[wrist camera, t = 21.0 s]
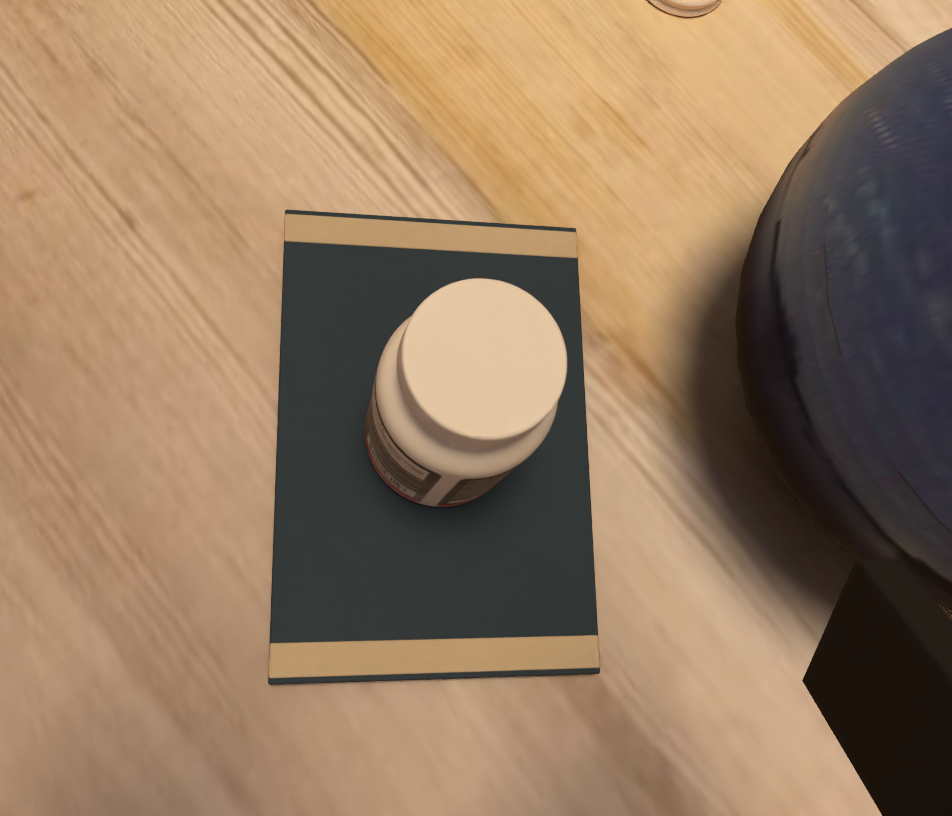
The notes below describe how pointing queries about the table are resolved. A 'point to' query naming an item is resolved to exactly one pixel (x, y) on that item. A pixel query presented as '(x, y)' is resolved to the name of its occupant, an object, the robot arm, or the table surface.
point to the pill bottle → (464, 391)
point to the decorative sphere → (862, 320)
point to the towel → (397, 518)
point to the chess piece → (686, 6)
